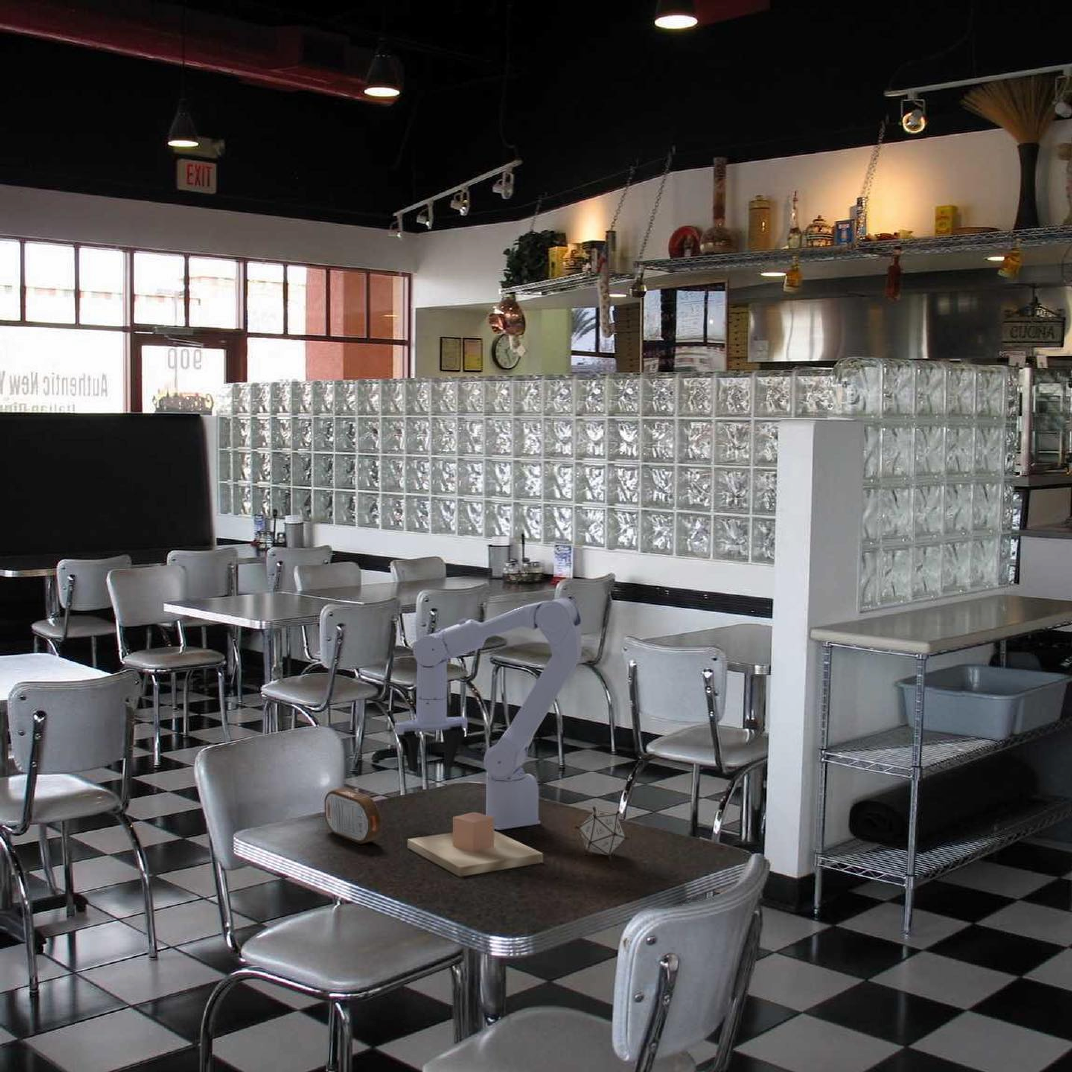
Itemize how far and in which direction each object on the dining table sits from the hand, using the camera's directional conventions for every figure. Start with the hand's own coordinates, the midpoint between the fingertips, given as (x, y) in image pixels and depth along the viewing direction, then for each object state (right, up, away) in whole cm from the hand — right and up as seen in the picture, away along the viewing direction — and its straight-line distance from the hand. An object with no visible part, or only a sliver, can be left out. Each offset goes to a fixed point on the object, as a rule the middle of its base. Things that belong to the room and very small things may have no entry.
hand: (430, 768), depth 248 cm
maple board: (+9, -11, -24) cm, 27 cm away
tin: (-13, -10, -14) cm, 22 cm away
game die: (+31, -11, -23) cm, 40 cm away
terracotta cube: (+9, -9, -23) cm, 27 cm away
